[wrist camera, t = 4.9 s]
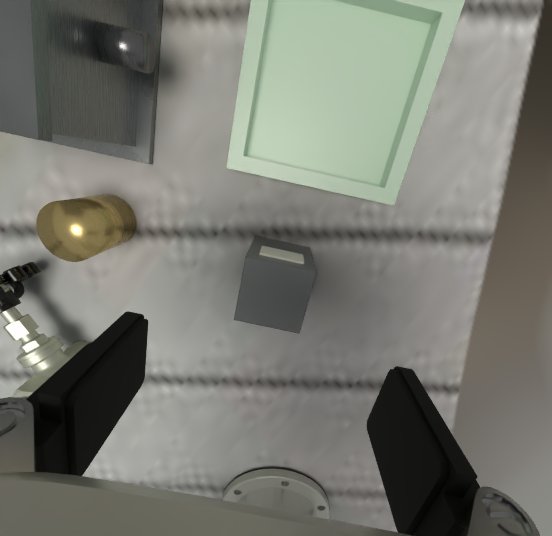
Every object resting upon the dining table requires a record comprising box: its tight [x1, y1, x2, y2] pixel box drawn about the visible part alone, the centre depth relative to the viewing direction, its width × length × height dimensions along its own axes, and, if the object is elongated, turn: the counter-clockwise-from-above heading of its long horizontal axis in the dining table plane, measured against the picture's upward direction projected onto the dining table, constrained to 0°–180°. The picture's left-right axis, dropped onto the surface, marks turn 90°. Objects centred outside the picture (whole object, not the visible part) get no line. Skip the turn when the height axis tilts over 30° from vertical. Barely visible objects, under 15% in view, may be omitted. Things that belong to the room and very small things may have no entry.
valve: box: [0, 262, 90, 399], centre depth 24 cm, size 7×7×12 cm
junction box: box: [0, 0, 163, 164], centre depth 15 cm, size 12×11×10 cm
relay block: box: [234, 236, 316, 333], centre depth 21 cm, size 5×4×6 cm
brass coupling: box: [37, 195, 136, 262], centre depth 21 cm, size 4×4×5 cm
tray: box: [227, 0, 465, 206], centre depth 19 cm, size 12×12×2 cm
